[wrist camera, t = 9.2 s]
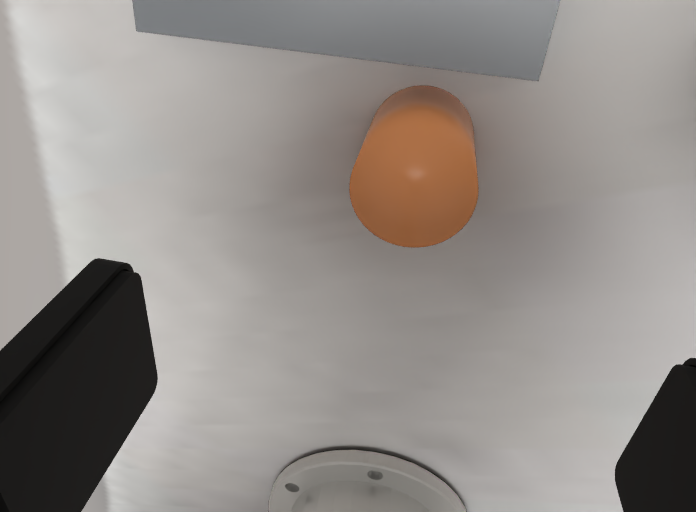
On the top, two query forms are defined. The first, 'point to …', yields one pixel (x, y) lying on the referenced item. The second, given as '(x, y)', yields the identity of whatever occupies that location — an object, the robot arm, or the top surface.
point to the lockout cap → (416, 169)
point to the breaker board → (373, 29)
